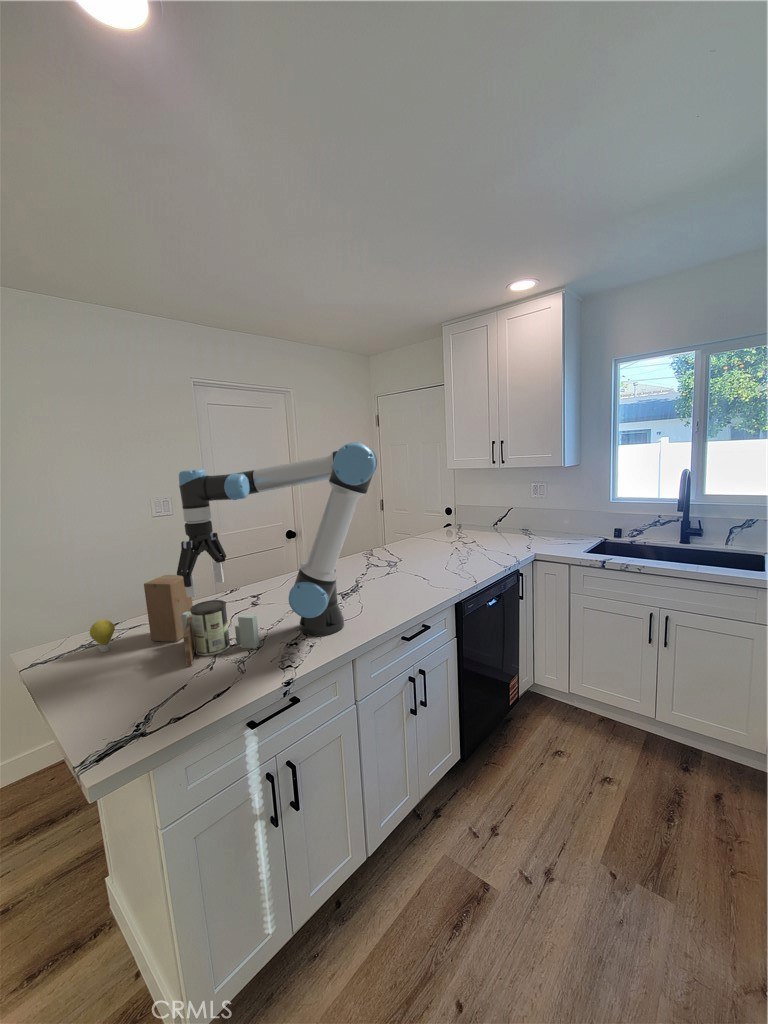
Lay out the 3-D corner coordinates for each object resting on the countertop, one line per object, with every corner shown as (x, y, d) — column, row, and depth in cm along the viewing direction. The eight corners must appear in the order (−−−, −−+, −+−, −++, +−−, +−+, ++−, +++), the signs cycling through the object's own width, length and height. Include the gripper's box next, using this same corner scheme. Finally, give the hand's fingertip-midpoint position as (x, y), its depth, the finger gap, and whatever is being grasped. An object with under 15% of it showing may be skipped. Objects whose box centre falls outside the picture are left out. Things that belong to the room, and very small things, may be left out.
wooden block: (177, 642, 138) (169, 583, 135) (150, 641, 140) (142, 583, 137) (196, 629, 148) (189, 574, 145) (171, 628, 150) (164, 574, 147)
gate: (191, 665, 121) (187, 635, 120) (186, 666, 121) (183, 636, 120) (196, 640, 138) (192, 614, 137) (192, 641, 137) (188, 615, 136)
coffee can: (213, 639, 139) (209, 598, 137) (237, 643, 135) (232, 601, 133) (187, 652, 130) (182, 609, 128) (212, 658, 126) (206, 613, 124)
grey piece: (259, 644, 133) (256, 614, 132) (255, 648, 131) (252, 617, 129) (190, 639, 139) (187, 611, 138) (184, 643, 137) (181, 614, 135)
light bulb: (122, 646, 137) (118, 617, 135) (103, 656, 130) (98, 625, 129) (107, 644, 139) (103, 615, 138) (87, 653, 133) (82, 623, 131)
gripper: (212, 514, 139) (220, 576, 142) (156, 529, 115) (166, 603, 118) (232, 514, 138) (239, 576, 141) (179, 528, 114) (189, 603, 117)
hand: (206, 589), depth 129 cm, fingers open, 13 cm apart
